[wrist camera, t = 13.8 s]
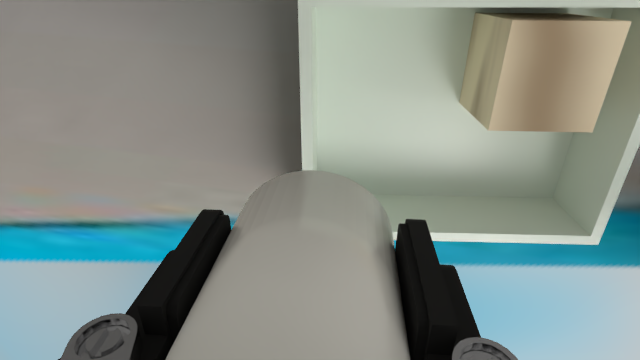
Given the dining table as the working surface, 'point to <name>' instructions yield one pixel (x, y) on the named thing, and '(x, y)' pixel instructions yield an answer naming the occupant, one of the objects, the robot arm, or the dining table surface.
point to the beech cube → (540, 70)
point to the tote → (456, 123)
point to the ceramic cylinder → (301, 279)
